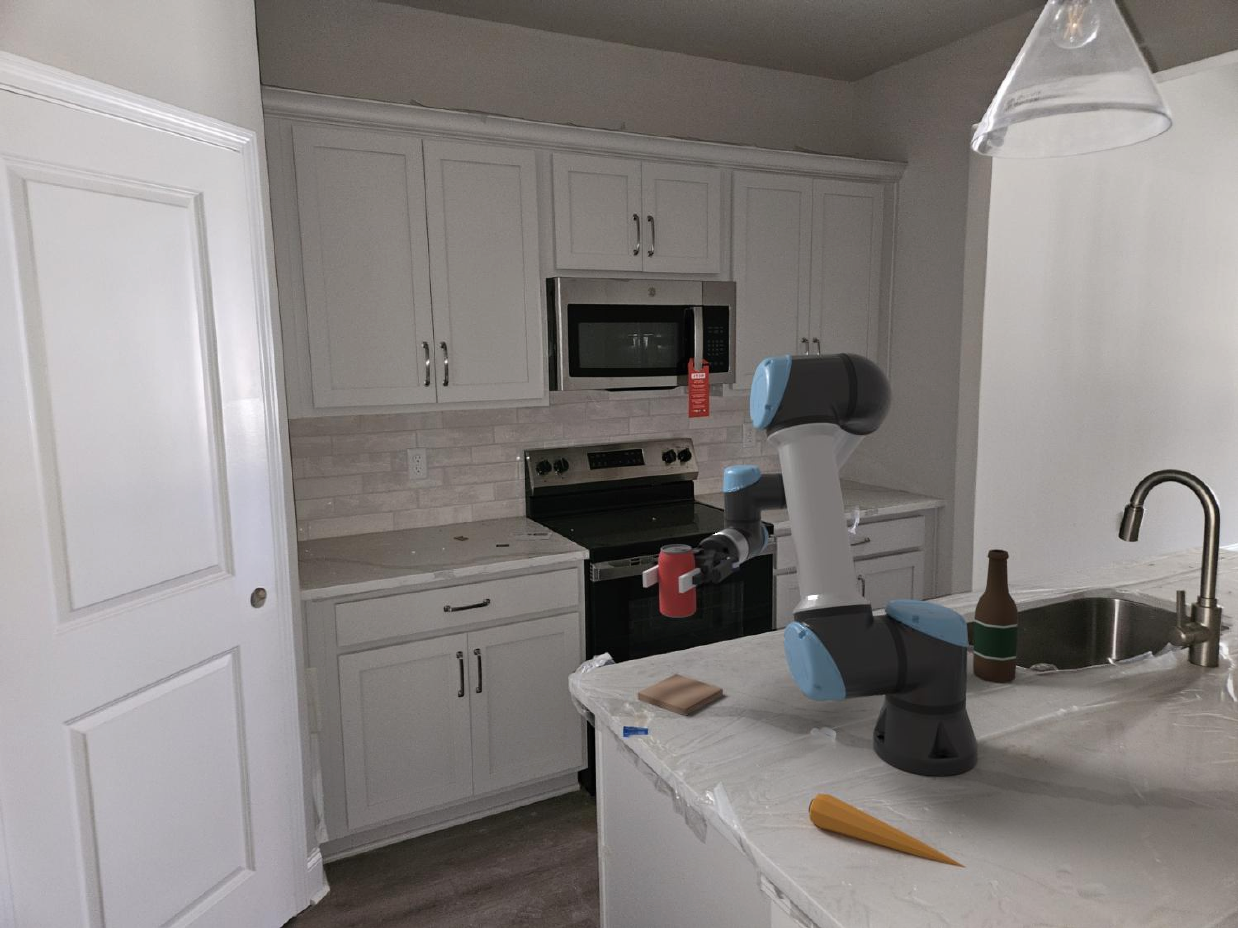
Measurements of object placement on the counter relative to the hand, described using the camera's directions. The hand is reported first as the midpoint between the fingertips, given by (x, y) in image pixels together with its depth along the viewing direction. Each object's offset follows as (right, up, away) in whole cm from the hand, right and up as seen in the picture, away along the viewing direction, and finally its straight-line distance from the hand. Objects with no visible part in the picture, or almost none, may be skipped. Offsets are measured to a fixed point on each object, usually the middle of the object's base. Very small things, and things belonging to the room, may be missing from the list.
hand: (662, 582), depth 143 cm
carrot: (+26, -28, -38) cm, 54 cm away
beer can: (+3, -6, +5) cm, 9 cm away
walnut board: (+4, -22, +7) cm, 23 cm away
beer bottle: (+63, -19, +12) cm, 67 cm away
